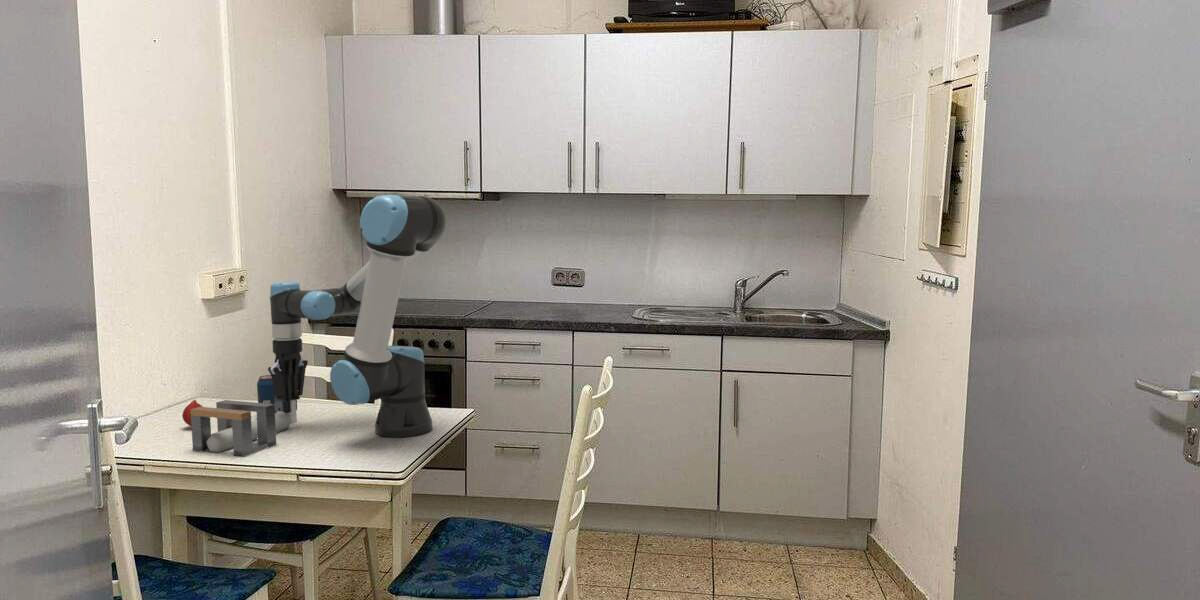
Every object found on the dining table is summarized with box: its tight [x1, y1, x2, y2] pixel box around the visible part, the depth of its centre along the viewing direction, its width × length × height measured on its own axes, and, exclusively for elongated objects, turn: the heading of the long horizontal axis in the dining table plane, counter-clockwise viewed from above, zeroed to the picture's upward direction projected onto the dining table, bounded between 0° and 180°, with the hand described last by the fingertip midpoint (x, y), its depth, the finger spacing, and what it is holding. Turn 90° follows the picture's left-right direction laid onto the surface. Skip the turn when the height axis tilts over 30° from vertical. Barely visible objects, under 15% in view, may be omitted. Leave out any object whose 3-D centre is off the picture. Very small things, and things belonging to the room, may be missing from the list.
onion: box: [182, 399, 204, 428], centre depth 219 cm, size 6×6×8 cm
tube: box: [206, 411, 292, 453], centre depth 206 cm, size 5×5×25 cm
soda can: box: [256, 374, 284, 413], centre depth 231 cm, size 7×7×12 cm
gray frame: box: [190, 399, 277, 457], centre depth 199 cm, size 16×11×10 cm
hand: (291, 423), depth 218 cm, fingers closed
